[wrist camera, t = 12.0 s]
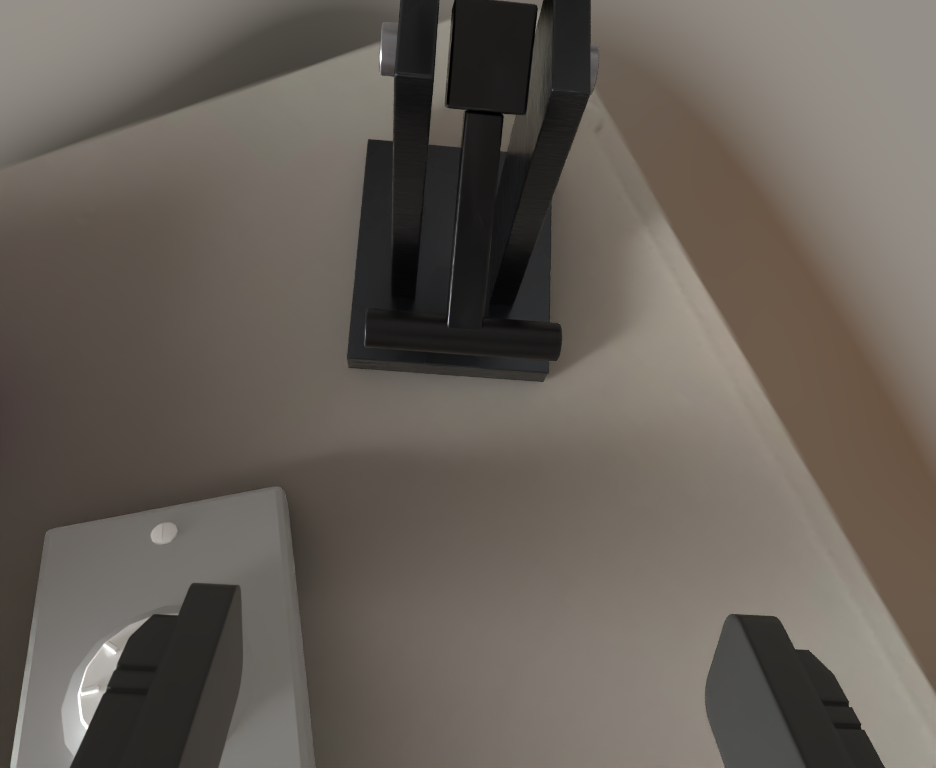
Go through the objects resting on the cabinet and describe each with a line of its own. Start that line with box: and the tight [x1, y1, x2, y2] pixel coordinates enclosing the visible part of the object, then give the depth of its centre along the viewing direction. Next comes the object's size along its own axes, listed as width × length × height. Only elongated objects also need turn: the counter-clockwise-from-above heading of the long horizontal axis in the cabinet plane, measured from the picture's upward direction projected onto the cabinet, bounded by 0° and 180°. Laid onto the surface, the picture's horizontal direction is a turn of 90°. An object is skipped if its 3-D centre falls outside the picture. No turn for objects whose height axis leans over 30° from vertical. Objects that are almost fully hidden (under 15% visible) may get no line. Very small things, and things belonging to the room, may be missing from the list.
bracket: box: [347, 0, 599, 382], centre depth 29 cm, size 10×8×15 cm
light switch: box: [10, 486, 316, 768], centre depth 27 cm, size 8×6×14 cm
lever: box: [364, 0, 562, 361], centre depth 25 cm, size 10×6×2 cm
